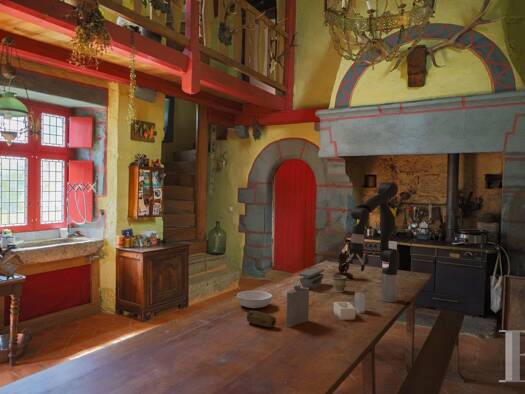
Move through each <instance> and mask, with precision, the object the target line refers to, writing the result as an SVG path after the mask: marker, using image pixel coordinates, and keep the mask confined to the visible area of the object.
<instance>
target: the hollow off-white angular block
mask: <svg viewBox="0 0 525 394" xmlns="http://www.w3.org/2000/svg"><path fill="white" fill-rule="evenodd" d="M354 307H355V306H353V305H352V304H351V303H350V302H349V301H333V311H332V312H333V314H334V315H335V316H336V317H337V318H338V319H339V320H340V321H343V320H356V312H357V311H356V308H354Z"/></svg>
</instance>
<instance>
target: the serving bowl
mask: <svg viewBox="0 0 525 394" xmlns="http://www.w3.org/2000/svg"><path fill="white" fill-rule="evenodd" d="M236 299H237V302H238V303H239V304H240V306H243V307H245V308H249V309H261V308H264V307H267V306H268V305H269V304H270V303H271V301H272V299H273V294H272V293H270V292H267V291H262V290H243V291H239V292H238V293H237V294H236Z"/></svg>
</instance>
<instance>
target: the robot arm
mask: <svg viewBox="0 0 525 394" xmlns="http://www.w3.org/2000/svg"><path fill="white" fill-rule="evenodd" d="M398 192H399V187H398V184H397V183H395V182H391V181H389V182H383V181H382V182H380V183H379V184H378V185H377V194H376V195H373V196H371V197H370V198H368V199H367V200H365V201H364V202H363V203H360V204H359V205H357V206H355V207H353V208H352V210H351V212H350V217H351V218H352V219H353V220H358V223H354V224H353V225H352V227H351V229H352V230H351V237H350V245H349V247H350V248H349V251H348V250H344V252H343V253H344V258H343V260H344V261H346V263H345V264H346V268H347V269H348V270H350V261H352V260H357V261H359V262H360V263H361V267H360V272H364V271H365V268H366V267H365V266H366V265H368V264H369V258H370V257H369V253H364V246H365V231H366V226H367V223H368V221H369V218H370V213H372V212H374V211H375V209H377V208H378V207H379V227H380V228H379V229H380V233H379V235H380V241H379V242H380V244H379V258H380V261H381V262H383V263H388V266H387V267H384V268H382V270H381V289H380V301H383V302H385V303H396V302H398V300H399V299H398V295H399V287H398V285H397V284H398V270H399V266H400V265H399V264H400V252H399V250H397V249H396V248H390V239H391V237H392V236H393V234H394V232H395V230H396V217H395V214H394V212H393V211H392V209H391V208H390V206H389V204H388V203H389V202H388V200H391V199H393V198H394V197H396V196H397V194H398ZM348 254H349V258H348V259H347V255H348ZM363 257H364V258H365V259H364V258H363Z"/></svg>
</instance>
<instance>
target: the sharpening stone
mask: <svg viewBox="0 0 525 394" xmlns="http://www.w3.org/2000/svg"><path fill="white" fill-rule="evenodd" d="M324 271H325V268H318V267H313V268H311V269H308V270H305V271H302V272H300V273H299V274H298V275H299V277H300V278H299V282H300V285H301V287H302V288H304V287H307V288H309V290H310V289H311V290H315V289H316V288H318V287H320V286H321V284H322V282H323V279H324V273H323V272H324Z"/></svg>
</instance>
